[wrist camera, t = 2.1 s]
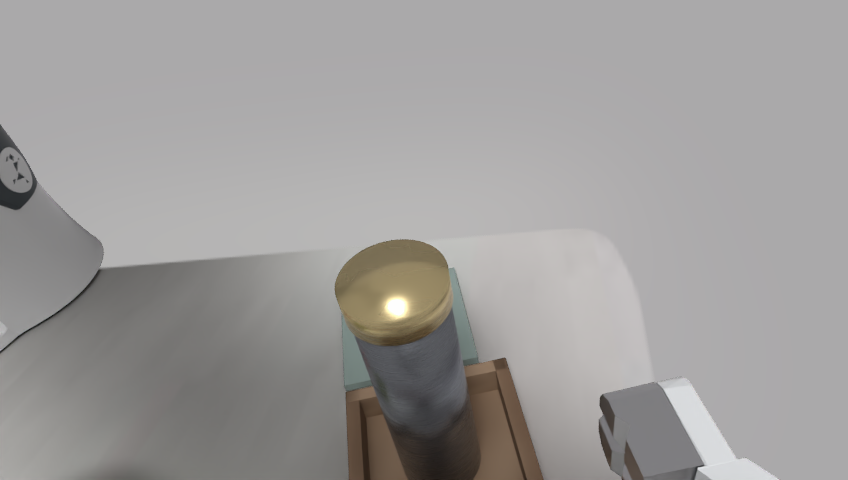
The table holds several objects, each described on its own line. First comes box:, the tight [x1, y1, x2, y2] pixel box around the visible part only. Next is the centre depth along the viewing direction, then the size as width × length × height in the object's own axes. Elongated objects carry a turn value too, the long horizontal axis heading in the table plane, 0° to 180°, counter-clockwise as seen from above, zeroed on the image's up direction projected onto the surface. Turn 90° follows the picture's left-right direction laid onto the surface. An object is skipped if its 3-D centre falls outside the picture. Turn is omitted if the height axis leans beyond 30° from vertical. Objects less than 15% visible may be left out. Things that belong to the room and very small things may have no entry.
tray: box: [346, 358, 544, 480], centre depth 33 cm, size 10×9×2 cm
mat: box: [342, 268, 479, 391], centre depth 42 cm, size 9×9×1 cm
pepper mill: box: [335, 240, 481, 480], centre depth 29 cm, size 5×5×14 cm
